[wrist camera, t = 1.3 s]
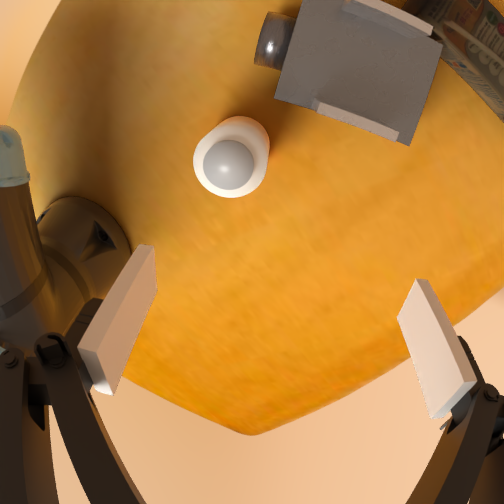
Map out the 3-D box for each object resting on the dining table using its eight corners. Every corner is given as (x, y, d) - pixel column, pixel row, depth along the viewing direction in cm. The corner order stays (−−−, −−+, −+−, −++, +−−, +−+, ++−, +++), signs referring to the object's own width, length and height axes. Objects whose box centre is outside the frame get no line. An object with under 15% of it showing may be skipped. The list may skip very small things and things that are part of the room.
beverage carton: (506, 134, 26) (540, 150, 21) (389, 20, 22) (413, 10, 17) (532, 89, 22) (567, 99, 17) (421, -27, 18) (448, -42, 13)
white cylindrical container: (205, 164, 32) (185, 191, 26) (217, 109, 29) (198, 121, 23) (261, 178, 33) (255, 209, 26) (276, 124, 30) (275, 140, 23)
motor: (250, 87, 28) (237, 94, 19) (276, -4, 22) (274, -36, 14) (388, 132, 29) (427, 159, 20) (416, 47, 23) (466, 44, 15)
